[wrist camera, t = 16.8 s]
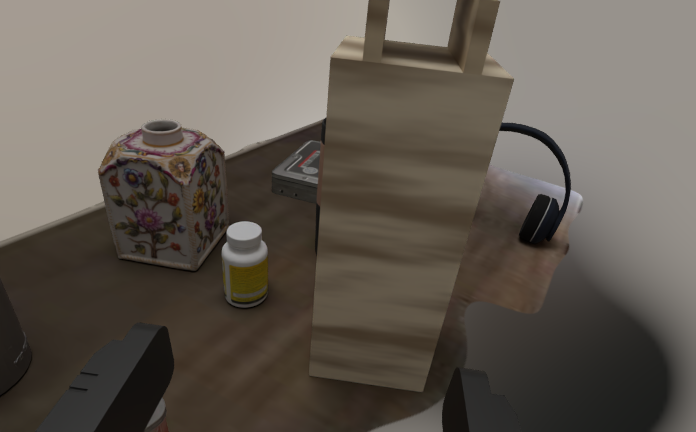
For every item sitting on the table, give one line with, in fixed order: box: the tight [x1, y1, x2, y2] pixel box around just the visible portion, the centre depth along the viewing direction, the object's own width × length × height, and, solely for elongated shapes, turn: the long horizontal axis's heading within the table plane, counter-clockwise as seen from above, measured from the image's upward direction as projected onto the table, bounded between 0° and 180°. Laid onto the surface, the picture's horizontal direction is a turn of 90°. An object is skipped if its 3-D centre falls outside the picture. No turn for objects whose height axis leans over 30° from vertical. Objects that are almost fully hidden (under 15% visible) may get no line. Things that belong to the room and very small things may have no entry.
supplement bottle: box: [222, 222, 268, 308], centre depth 51 cm, size 5×5×10 cm
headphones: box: [499, 123, 571, 244], centre depth 70 cm, size 20×7×18 cm, turn 61°
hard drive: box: [272, 140, 321, 203], centre depth 81 cm, size 18×27×4 cm
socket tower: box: [309, 0, 514, 392], centre depth 39 cm, size 10×12×37 cm
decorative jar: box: [98, 119, 229, 271], centre depth 57 cm, size 12×12×18 cm
